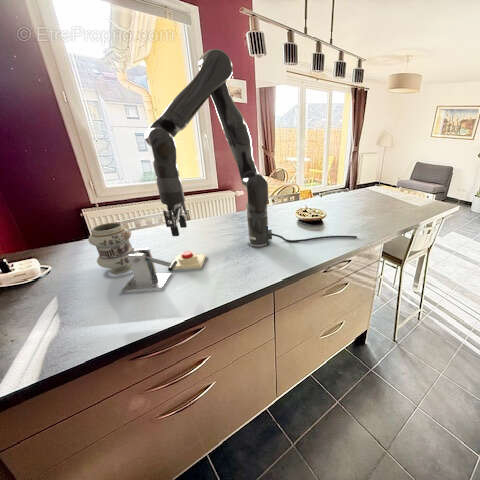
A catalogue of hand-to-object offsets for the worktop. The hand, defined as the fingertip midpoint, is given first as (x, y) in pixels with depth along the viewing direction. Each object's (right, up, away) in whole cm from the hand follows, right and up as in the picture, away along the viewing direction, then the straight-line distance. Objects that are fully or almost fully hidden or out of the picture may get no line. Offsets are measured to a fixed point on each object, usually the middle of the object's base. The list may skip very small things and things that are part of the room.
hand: (180, 231), depth 93 cm
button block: (+1, -13, +5) cm, 14 cm away
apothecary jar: (-21, -15, 0) cm, 26 cm away
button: (+1, -10, +3) cm, 11 cm away
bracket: (-7, -19, -8) cm, 21 cm away
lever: (-3, -11, -10) cm, 16 cm away
